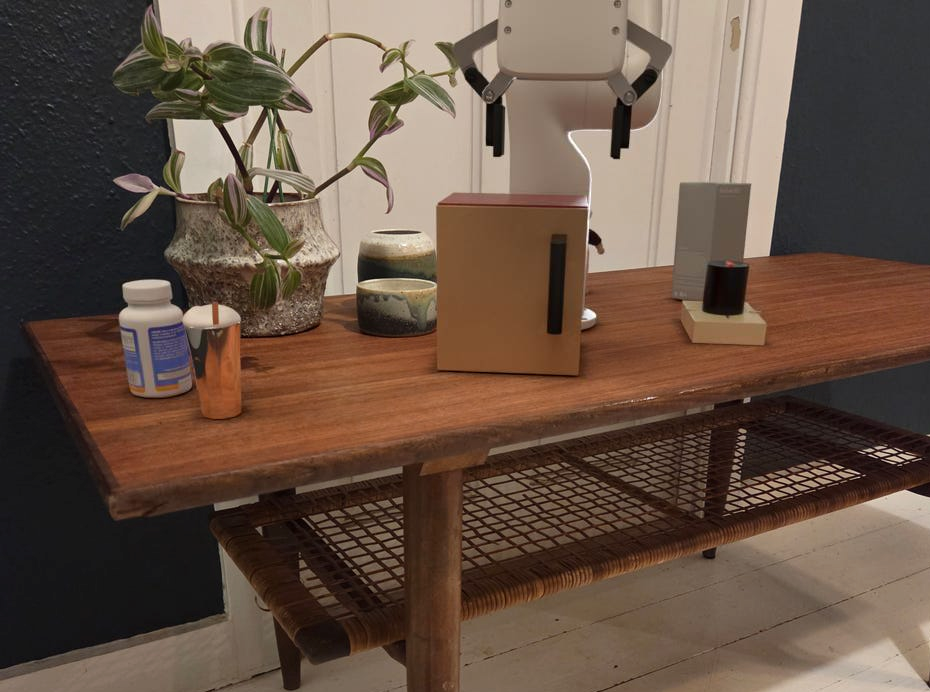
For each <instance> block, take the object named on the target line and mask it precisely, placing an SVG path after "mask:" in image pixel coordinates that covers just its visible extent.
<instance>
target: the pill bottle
mask: <svg viewBox="0 0 930 692" xmlns="http://www.w3.org/2000/svg"><path fill="white" fill-rule="evenodd" d="M121 288H122V299H124V302H125V303H127V307H125V308H123V309H121V311H120V312H119V315H118V323H119V331H120V336H121V343H122V349H123V356H124V360H125V361H124V362H125V369H126V377H127V381H128V388H129V390H130V392H131V394H132V395H133V396H137V397H140V398H145V399H147V398H148V399H149V398H150V399H163V398H169V397H170V398H171V397H175V396H179V395H182V394H184V393H187V392H188V391H190V390H191V389H192V387H193V381H192V373H191V365H190V355H189V348H188V344H187V339H186V335H185V330H184V326H183V322H182V319H183V316H184V313H183V310H182V309H181V308H180V307H179V306H177V305H175V304H172V302H171V300H172V299H173V290H172V285H171V282H170V281H168V280H164V279H140V280H139V279H138V280H133V281H128V282H125V283H123V284H122V287H121Z"/></svg>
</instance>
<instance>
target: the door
mask: <svg viewBox="0 0 930 692" xmlns="http://www.w3.org/2000/svg"><path fill="white" fill-rule="evenodd" d="M435 209H436V210H435V227H436V228H435V231H436V232H435V234H436V235H435V236H436V237H435V238H436V239H435V241H436V248H435V249H436V251H435V252H436V254H435V255H436V370H437V371H454V372H477V373H478V372H480V373H481V372H482V373H503V374H505V373H506V374H529V375H530V374H531V375H533V374H534V375H554V376H555V375H557V376H579V370H580V356H581V355H580V353H581V337H582V330H581V322H582V305H583V288H584V270H585V253H586V236H587V219H588V209H587V208H553V207H509V206H466V205H438V204H437V205H436V206H435Z"/></svg>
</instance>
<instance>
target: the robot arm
mask: <svg viewBox="0 0 930 692" xmlns="http://www.w3.org/2000/svg"><path fill="white" fill-rule="evenodd" d="M495 42H496V62H497V67H498V69H499V70H498V71H497V73H496V74H495V75H494V77H493V78H492V79H491V80H490V81H488V79H487V78H486V77H485V76H484V74H483V73H482V72H481V71H480V70H479V68H478V65H477V62H476V60H475V55H476V53H477V52H479V51H481V50H483V49H484V48H486V47H487V46H489V45H491V44H492V43H495ZM451 51H452V54H453V56H454V58H455V60H456V63H457V65H458V67H459V69H460V71H461V73H462V75H463V77H464V80H465V81H466V83H467V84H468V85H469V86H470V87H471V88H472V90H474V92H475V93H476V94H477V96H479V97H480V98H481V100H482V101H483V102H484V103H485V147H492V157H493V158H501V157H503V156H504V155H505V146H506V145H505V142H506V137H505V136H506V116H507V123H508V139H509V192H508V194H546V195H586V199H587V204H588V219H587V236H586V253H585V270H584V288H583V305H582V322H581V331H583V330H588V329H590V328H592V327H594V326H595V325H596V323H597V313H595V312H594V311H593V310H591V309H589V308H585V302H586V301H585V299H586V298H585V295H586V294H585V287H586V286H585V284H586V267H587V249H588V248H589V244H588V232H589V229H590V219H589V215H590V208H591V197H592V171H591V168H590V164H589V162H588V160H587V158H586V157H585V156H584V154H583V152H582V151H581V150H580V148H579V147H578V146H577V145H576V144H575V142H574V141H573V139H572V138H571V134H572V133H574V132H583V131H592V132H593V131H595V132H596V131H597V132H599V131H600V132H602V131H603V132H604V131H605V132H611V136H610V137H611V138H610V152H609V155H610V156H609V157H610V158H611V159H613V160H621V154H622V153H621V152H622V150H623V149H624V150H625V149H627V150H629V149H630V141H631V131H639V130H643V129H645V128H647V127H649V125H651V124H652V123H653V121H654V120H656V117H657V115H658V113H659V110H660V106H661V101H662V93H663V77H664V76H663V71H664V70H663V69H664V68H665V66H666V64H667V63H668V61H669V59H670V57H671V55H672V53H673V47H672V45H671V44H670V43H668V42H667V41H665V40H664V39H663V0H498V15H497V18H496V19H494V20H493V21H491V22H489V23H488V24H487V23H486V24H485V25H484V26H482V27H480V28H478V29H477V30H474V31H473V32H471V33H470V34H468V35H466V36H465V37H463V38H461V39H459V40H457V41H456V42H454V43H453V45H452V48H451ZM503 96H505V104H506V105H504V104H503ZM506 113H507V115H506Z"/></svg>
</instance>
